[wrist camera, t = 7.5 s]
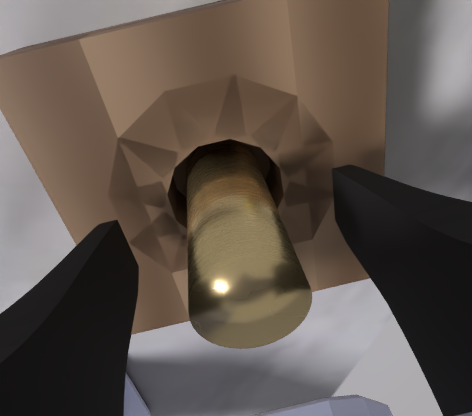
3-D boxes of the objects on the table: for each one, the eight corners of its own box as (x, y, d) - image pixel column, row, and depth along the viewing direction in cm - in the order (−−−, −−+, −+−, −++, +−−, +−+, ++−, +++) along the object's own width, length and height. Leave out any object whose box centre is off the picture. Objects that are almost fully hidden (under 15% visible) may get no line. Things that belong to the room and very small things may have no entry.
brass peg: (197, 205, 16) (207, 359, 9) (177, 144, 15) (171, 278, 8) (261, 188, 16) (317, 332, 9) (248, 126, 15) (304, 244, 8)
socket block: (135, 282, 19) (126, 335, 16) (22, 47, 13) (-25, 64, 10) (351, 231, 19) (381, 275, 16) (342, -29, 13) (389, -35, 10)
